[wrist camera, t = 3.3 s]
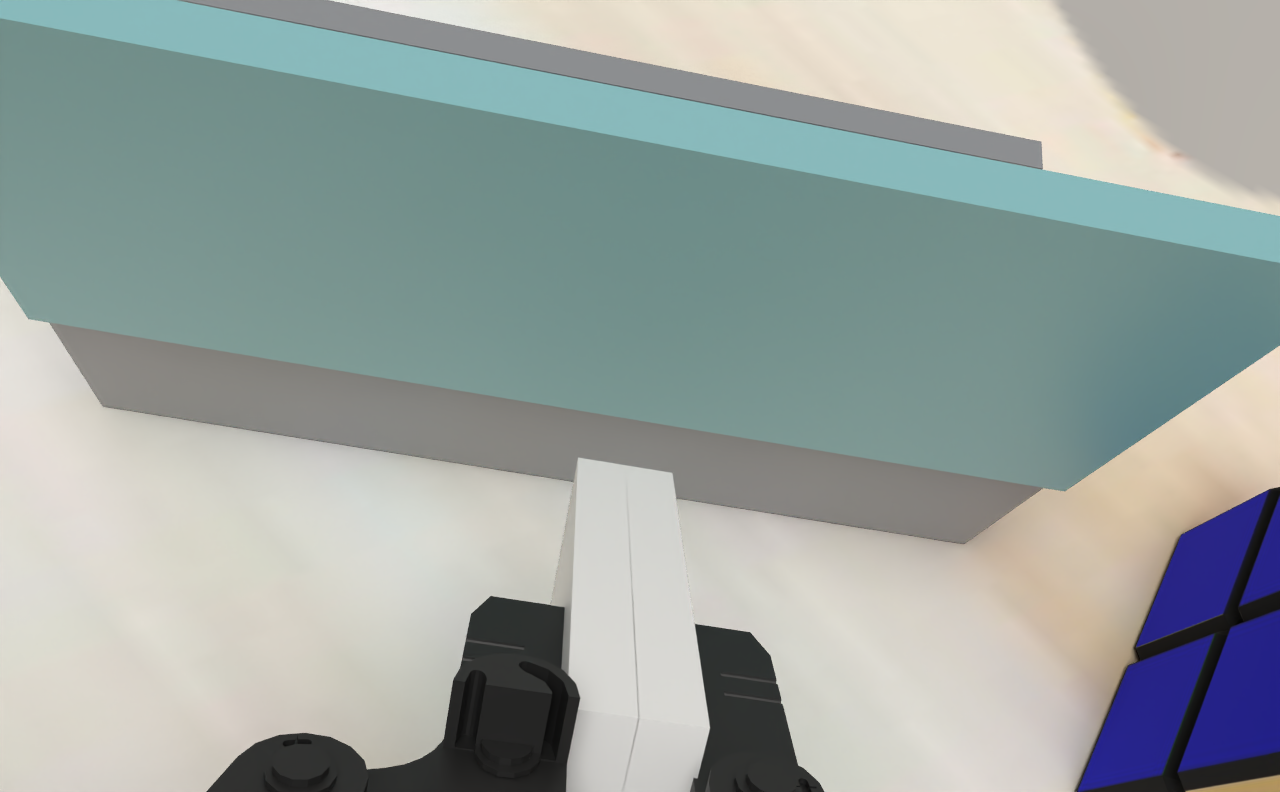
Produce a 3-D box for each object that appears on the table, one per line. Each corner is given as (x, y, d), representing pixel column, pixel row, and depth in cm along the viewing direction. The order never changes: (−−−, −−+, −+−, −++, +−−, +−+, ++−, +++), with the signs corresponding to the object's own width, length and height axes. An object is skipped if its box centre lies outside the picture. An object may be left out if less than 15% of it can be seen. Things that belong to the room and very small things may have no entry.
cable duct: (964, 543, 36) (1058, 477, 31) (102, 406, 33) (39, 306, 28) (960, 245, 41) (1041, 141, 35) (204, 103, 38) (167, -32, 33)
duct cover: (1062, 455, 31) (1064, 491, 30) (42, 282, 28) (28, 318, 27) (1365, 233, 21) (1374, 281, 20) (-172, -68, 18) (-199, -20, 18)
